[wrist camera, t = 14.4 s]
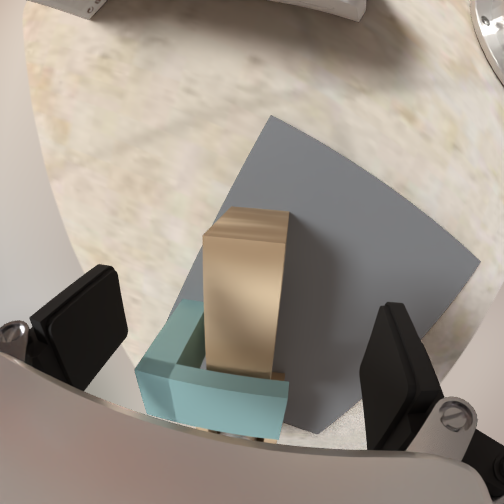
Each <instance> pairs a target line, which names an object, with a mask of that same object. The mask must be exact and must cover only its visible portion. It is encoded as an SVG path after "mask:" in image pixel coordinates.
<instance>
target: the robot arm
mask: <svg viewBox="0 0 504 504" xmlns="http://www.w3.org/2000/svg"><path fill="white" fill-rule="evenodd" d="M470 10H471V18H472V22H473V25H474V29H475V32H476V35H477V37H478V40H479V43H480V45H481V47H482V49H483V51H484V53H485V55H486V58H487V60H488V61H489V63H490V65H491V66H492V68H493V70H494V72H495V73H496V75H497V76H498V78H499V79H500V81H501V82H502V83H503V85H504V0H470ZM30 321H31V324H32V326H33V327H32V328H31V329H29V326H28V325H27V323H25V322H24V321H20V320H17V321H11V322H9V323H6V324H4V325H3V326H2V327H0V504H504V446H503V445H502V444H500V443H498V442H497V441H495V440H493V439H492V438H490V437H488V436H487V435H485V434H483V433H482V432H480V431H479V430H477V429H476V426H477V414H476V412H475V410H474V408H473V407H472V406H471V405H470V404H469V403H468V402H466V401H465V400H463V399H461V398H458V397H445V398H444V395H443V392H442V390H441V387H440V384H439V382H438V379H437V376H436V374H435V371H434V369H433V366H432V364H431V361H430V359H429V356H428V354H427V352H426V349H425V347H424V345H423V344H422V343H421V341H420V338H419V336H418V334H417V331H416V329H415V327H414V325H413V323H412V320H411V318H410V316H409V314H408V312H407V310H406V308H405V305H404V304H403V303H398V302H386V304H385V306H382V305H381V306H380V307H379V310H378V314H377V317H376V320H375V323H374V327H373V330H372V333H371V336H370V339H369V342H368V345H367V348H366V351H365V354H364V356H363V359H362V362H361V365H360V369H359V377H360V385H361V392H362V401H363V409H364V418H365V428H366V440H367V450H344V449H325V448H312V447H300V446H290V445H281V444H273V443H266V442H259V441H253V440H247V439H241V438H235V437H230V436H225V435H220V434H216V433H211V432H207V431H202V430H198V429H194V428H190V427H186V426H182V425H178V424H175V423H171V422H168V421H164V420H161V419H158V418H154V417H151V416H148V415H145V414H142V413H139V412H136V411H133V410H130V409H127V408H124V407H121V406H119V405H116V404H114V403H111V402H108V401H106V400H103V399H101V398H98V397H96V396H93V395H91V394H88V393H86V392H84V390H85V389H86V388H87V386H88V385H89V384H90V382H91V381H92V380H93V379H94V377H95V376H96V375H97V373H98V372H99V371H100V370H101V368H102V367H103V366H104V365H105V363H106V362H107V361H108V359H109V358H110V357H111V356H112V354H113V353H114V352H115V351H116V349H117V348H118V347H119V346H120V344H121V343H122V342H123V341H124V340H125V338H126V337H127V334H128V327H127V322H126V318H125V313H124V307H123V302H122V297H121V291H120V285H119V279H118V274H117V272H116V271H115V270H114V268H113V267H112V266H107V265H101V264H98V265H96V266H95V267H94V268H92V269H91V270H90V271H88V272H87V273H86V274H84V275H83V276H82V277H80V278H79V279H78V280H76V281H75V282H74V283H72V284H71V285H70V286H68V287H67V288H66V289H65V290H63V291H62V292H61V293H59V294H58V295H57V296H56V297H54V298H53V299H52V300H51V301H49V302H48V303H47V304H46V305H44V306H43V307H42V308H41V309H39V310H38V311H37V312H36V313H35V314H33V315H32V316H31V317H30Z"/></svg>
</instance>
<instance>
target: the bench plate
mask: <svg viewBox="0 0 504 504" xmlns="http://www.w3.org/2000/svg"><path fill="white" fill-rule="evenodd" d="M231 206H233V207H245V208H257V209H269V210H280V211H289V221H288V232H287V242H286V253H285V262H284V272H283V282H282V291H281V300H280V309H279V317H278V326H277V334H276V342H275V350H274V358H273V365H272V372H276V373H285V380H284V381H288V382H289V390H288V400H287V405H286V409H285V414H284V418H283V422H284V423H286V424H289V425H292V426H295V427H297V428H300V429H303V430H306V431H309V432H312V433H315V434H319V433H320V432H321V431H323V430H324V429H325V428H327V427H328V426H329V425H330V424H332V423H333V422H334V421H336V420H337V419H338V418H339V417H340V416H342V415H343V414H344V413H345V412H347V411H348V410H349V409H350V408H351V407H352V406H354V405H355V404H356V403H357V402H358V401H359V400H361V399H362V392H361V385H360V377H359V369H360V365H361V362H362V359H363V356H364V354H365V351H366V348H367V345H368V342H369V339H370V336H371V333H372V330H373V327H374V323H375V320H376V317H377V314H378V310H379V307H380V306H381V305H382V306H385V304H386V302H398V303H403V304H404V305H405V308H406V310H407V312H408V314H409V316H410V318H411V320H412V323H413V325H414V327H415V329H416V331H417V334H418V336H419V338H420V340H421V339H422V338H423V337H424V335H425V334H426V333H427V332H428V331H429V330H430V329H431V327H432V326H433V325H434V324H435V323H436V321H437V320H438V319H439V318H440V317H441V315H442V314H443V313H444V312H445V310H446V309H447V308H448V307H449V305H450V304H451V303H452V301H453V300H454V299H455V298H456V296H457V295H458V294H459V292H460V291H461V289H462V288H463V287H464V285H465V284H466V283H467V281H468V280H469V278H470V277H471V276H472V274H473V273H474V271H475V270H476V268H477V267H478V265H479V264H480V262H481V261H480V260H478V259H477V258H476V257H475V256H474V255H473V254H472V253H471V252H470V251H469V250H468V249H467V248H465V247H464V246H463V245H462V244H461V243H460V242H459V241H457V240H456V239H455V238H454V237H453V236H452V235H451V234H449V233H448V232H447V231H446V230H445V229H443V228H442V227H441V226H440V225H439V224H437V223H436V222H435V221H434V220H432V219H431V218H430V217H429V216H427V215H426V214H425V213H424V212H422V211H421V210H420V209H418V208H417V207H416V206H415V205H413V204H412V203H411V202H409V201H408V200H407V199H405V198H404V197H403V196H401V195H400V194H399V193H397V192H396V191H394V190H393V189H392V188H390V187H389V186H387V185H386V184H385V183H383V182H382V181H380V180H379V179H377V178H376V177H374V176H373V175H372V174H370V173H369V172H367V171H366V170H364V169H363V168H361V167H360V166H358V165H356V164H355V163H353V162H352V161H350V160H349V159H347V158H346V157H344V156H342V155H341V154H339V153H338V152H336V151H334V150H333V149H331V148H329V147H328V146H326V145H324V144H323V143H321V142H319V141H318V140H316V139H314V138H312V137H311V136H309V135H307V134H305V133H304V132H302V131H300V130H298V129H296V128H295V127H293V126H291V125H289V124H287V123H285V122H284V121H282V120H280V119H278V118H276V117H274V116H272V115H271V116H270V117H269V119H268V121H267V123H266V124H265V126H264V128H263V130H262V132H261V133H260V135H259V137H258V139H257V141H256V143H255V144H254V146H253V148H252V150H251V152H250V154H249V155H248V157H247V159H246V161H245V163H244V165H243V167H242V168H241V170H240V172H239V174H238V176H237V178H236V180H235V182H234V184H233V186H232V187H231V189H230V191H229V193H228V195H227V197H226V199H225V201H224V203H223V205H222V207H221V209H220V211H219V213H218V215H217V217H216V219H215V221H214V223H215V222H216V221H217V220H218V219H219V218H220V217H221V216H222V215H223V214H224V213H225V212H226V211H227V210H228V209H229V208H230V207H231ZM214 223H213V224H214ZM182 299H187V300H194V301H201V302H204V297H203V245H202V247H201V249H200V251H199V253H198V255H197V257H196V259H195V261H194V263H193V266H192V268H191V270H190V272H189V274H188V276H187V278H186V280H185V282H184V285H183V287H182V289H181V291H180V293H179V295H178V297H177V300H176V302H175V304H174V306H173V308H172V311H171V313H170V315H169V317H168V319H169V318H170V316H171V315H172V314H173V312H174V311H175V309H176V308H177V306H178V305H179V303H180V302H181V301H182ZM168 319H167V321H168ZM200 369H204V370H206V355H205V358H204V360H203V362H202V365H201V367H200Z"/></svg>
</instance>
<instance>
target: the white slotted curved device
mask: <svg viewBox="0 0 504 504" xmlns="http://www.w3.org/2000/svg"><path fill="white" fill-rule="evenodd" d="M269 1H275V2H281V3H286V4H291V5H296V6H301V7H305V8H310V9H314V10H318V11H322V12H326V13H329V14H333V15H337V16H340V17H343V18H347V19H350V20H353V21H356V22H359V21H360V20H361V18H362V16H363V15H364V13H365V11H366V0H269Z"/></svg>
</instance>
